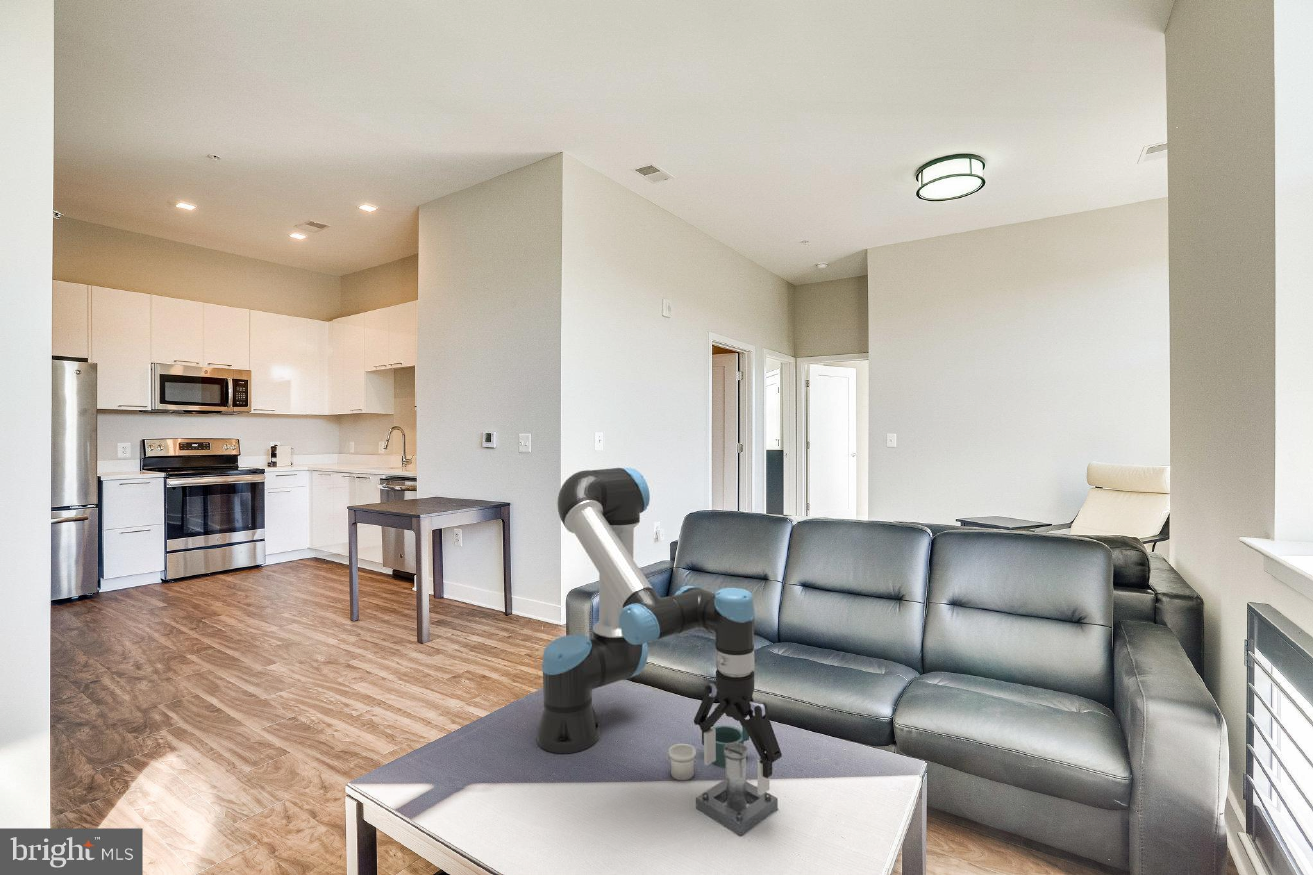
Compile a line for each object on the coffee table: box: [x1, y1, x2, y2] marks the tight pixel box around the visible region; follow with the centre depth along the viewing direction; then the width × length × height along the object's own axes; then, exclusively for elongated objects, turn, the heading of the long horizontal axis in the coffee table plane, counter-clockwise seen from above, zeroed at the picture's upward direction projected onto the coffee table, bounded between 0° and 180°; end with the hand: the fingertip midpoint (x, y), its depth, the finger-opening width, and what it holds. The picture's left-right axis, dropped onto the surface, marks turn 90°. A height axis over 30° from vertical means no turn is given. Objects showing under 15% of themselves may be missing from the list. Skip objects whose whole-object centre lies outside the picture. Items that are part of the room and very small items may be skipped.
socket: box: [695, 778, 779, 837], centre depth 120 cm, size 11×11×3 cm
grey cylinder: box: [724, 743, 748, 813], centre depth 120 cm, size 5×5×12 cm
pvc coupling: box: [668, 743, 697, 781], centre depth 133 cm, size 6×6×5 cm
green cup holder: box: [706, 716, 750, 768], centre depth 139 cm, size 9×9×9 cm
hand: (735, 776), depth 120 cm, fingers open, 13 cm apart
